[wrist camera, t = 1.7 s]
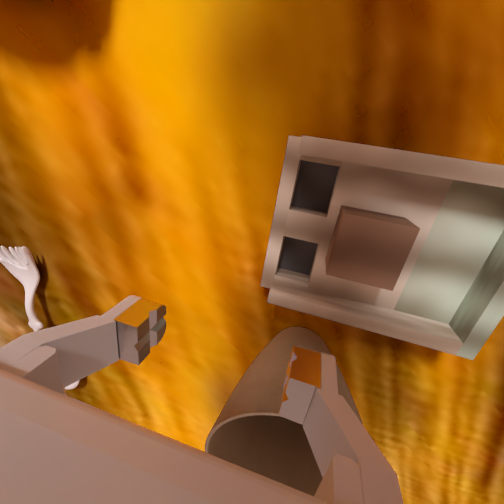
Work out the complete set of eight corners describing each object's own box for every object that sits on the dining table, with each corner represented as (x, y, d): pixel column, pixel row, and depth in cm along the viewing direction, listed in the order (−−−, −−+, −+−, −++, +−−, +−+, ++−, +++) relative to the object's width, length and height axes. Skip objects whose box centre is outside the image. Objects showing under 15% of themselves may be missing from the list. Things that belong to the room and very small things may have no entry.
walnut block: (341, 205, 25) (344, 213, 21) (405, 217, 24) (420, 228, 20) (325, 258, 27) (325, 274, 23) (382, 272, 26) (392, 291, 22)
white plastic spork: (42, 240, 41) (20, 247, 38) (92, 383, 53) (78, 397, 49) (4, 238, 43) (-21, 244, 40) (59, 375, 55) (44, 388, 52)
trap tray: (291, 137, 26) (284, 132, 21) (534, 174, 22) (596, 179, 17) (264, 277, 33) (254, 298, 28) (446, 324, 29) (473, 360, 24)
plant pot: (331, 401, 37) (337, 556, 23) (239, 363, 39) (192, 482, 25) (376, 327, 31) (425, 475, 17) (266, 286, 33) (223, 386, 19)
